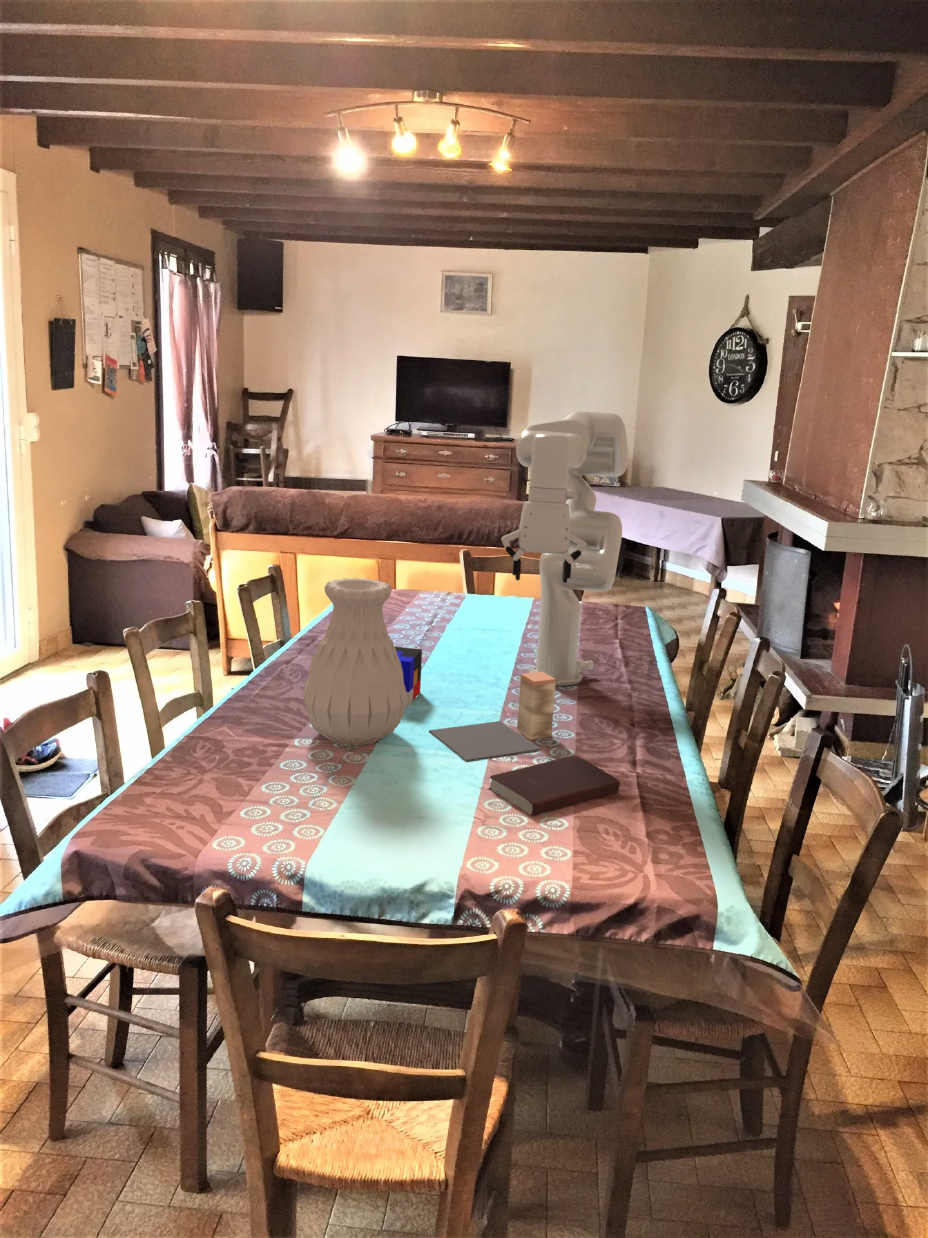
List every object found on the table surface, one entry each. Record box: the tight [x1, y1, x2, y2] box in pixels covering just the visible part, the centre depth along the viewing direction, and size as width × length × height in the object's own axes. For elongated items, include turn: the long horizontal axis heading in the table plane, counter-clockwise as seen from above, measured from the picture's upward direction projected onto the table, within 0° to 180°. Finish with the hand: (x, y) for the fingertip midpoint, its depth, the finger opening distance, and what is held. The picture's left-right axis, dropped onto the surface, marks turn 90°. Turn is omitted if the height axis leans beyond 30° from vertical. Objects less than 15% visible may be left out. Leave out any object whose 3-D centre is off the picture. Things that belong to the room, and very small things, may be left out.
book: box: [487, 755, 621, 817], centre depth 167 cm, size 12×19×3 cm, turn 124°
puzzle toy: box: [395, 646, 423, 707], centre depth 210 cm, size 10×10×10 cm
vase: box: [302, 577, 408, 747], centre depth 184 cm, size 20×20×30 cm
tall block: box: [516, 672, 556, 741], centre depth 192 cm, size 5×5×12 cm
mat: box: [428, 720, 541, 762], centre depth 189 cm, size 16×16×1 cm
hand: (540, 580), depth 198 cm, fingers open, 9 cm apart
